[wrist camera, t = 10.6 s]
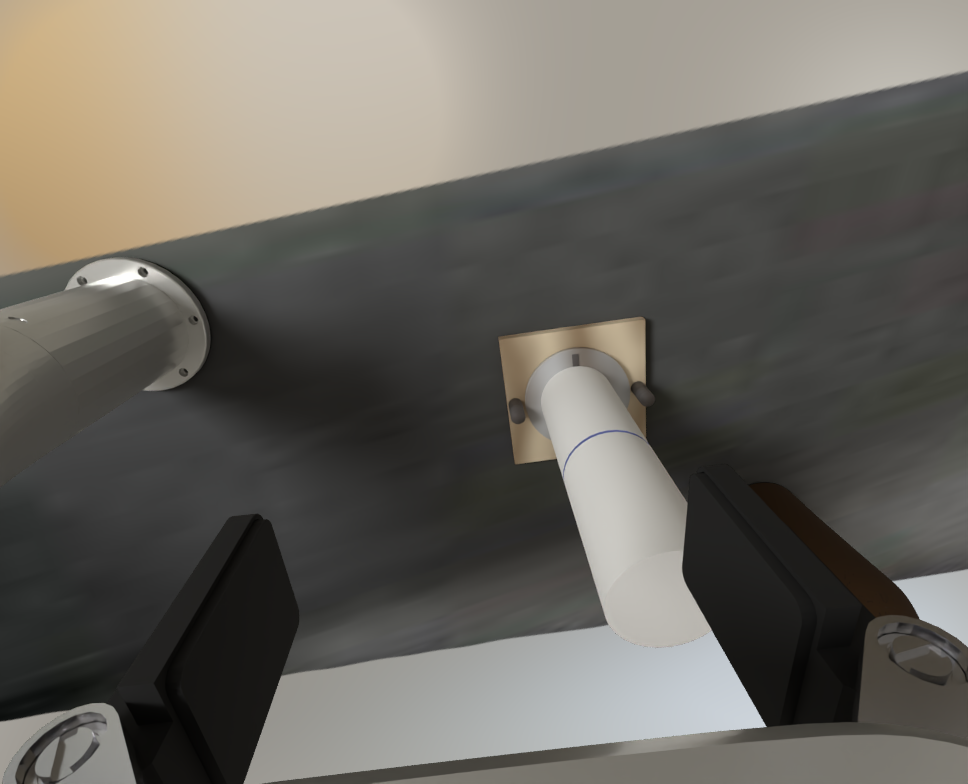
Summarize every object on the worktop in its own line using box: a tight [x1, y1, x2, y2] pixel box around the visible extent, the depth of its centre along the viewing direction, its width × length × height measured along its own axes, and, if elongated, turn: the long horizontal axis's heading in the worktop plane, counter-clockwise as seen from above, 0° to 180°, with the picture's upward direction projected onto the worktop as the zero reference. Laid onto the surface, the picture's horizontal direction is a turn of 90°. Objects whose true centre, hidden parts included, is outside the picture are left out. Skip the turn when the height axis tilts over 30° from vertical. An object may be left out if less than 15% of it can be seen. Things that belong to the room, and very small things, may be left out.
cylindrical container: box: [541, 366, 712, 648], centre depth 38 cm, size 7×7×25 cm
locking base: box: [498, 317, 655, 464], centre depth 50 cm, size 14×14×4 cm
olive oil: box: [748, 483, 920, 620], centre depth 47 cm, size 11×11×25 cm
